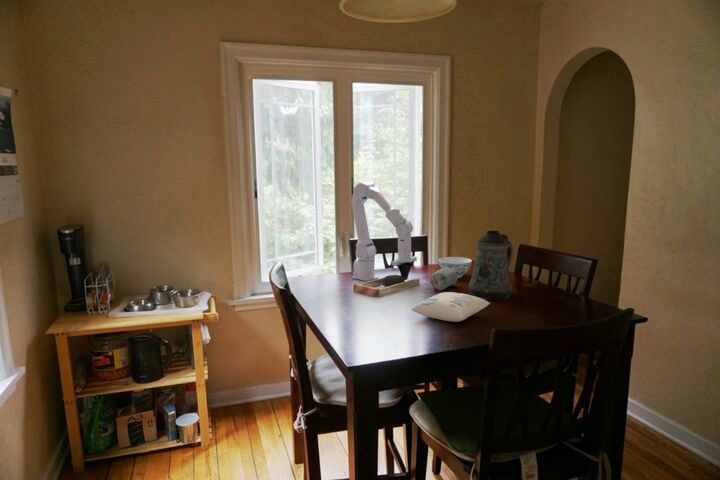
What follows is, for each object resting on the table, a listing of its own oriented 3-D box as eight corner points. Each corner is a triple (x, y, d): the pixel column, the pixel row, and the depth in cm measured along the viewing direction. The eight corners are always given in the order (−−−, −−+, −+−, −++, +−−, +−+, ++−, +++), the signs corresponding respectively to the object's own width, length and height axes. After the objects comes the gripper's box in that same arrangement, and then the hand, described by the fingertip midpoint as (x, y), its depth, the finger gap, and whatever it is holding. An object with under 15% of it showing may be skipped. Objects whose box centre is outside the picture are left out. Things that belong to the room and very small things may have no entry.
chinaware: (472, 280, 201) (472, 263, 200) (437, 279, 204) (438, 263, 203) (470, 273, 216) (471, 257, 215) (438, 272, 219) (439, 256, 218)
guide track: (353, 291, 188) (353, 284, 188) (396, 279, 207) (396, 272, 206) (376, 297, 179) (376, 289, 178) (419, 284, 197) (419, 277, 197)
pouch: (441, 284, 165) (411, 294, 150) (491, 294, 153) (463, 306, 138) (440, 305, 167) (410, 318, 151) (489, 317, 155) (462, 331, 139)
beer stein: (463, 297, 176) (464, 233, 172) (475, 285, 193) (477, 227, 189) (507, 302, 168) (509, 235, 164) (516, 289, 185) (518, 229, 181)
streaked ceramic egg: (447, 286, 180) (440, 262, 184) (428, 293, 186) (422, 270, 190) (465, 287, 190) (459, 265, 194) (447, 294, 196) (441, 272, 199)
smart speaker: (403, 283, 200) (403, 274, 200) (406, 288, 192) (405, 279, 191) (383, 283, 200) (383, 274, 199) (385, 288, 191) (384, 279, 191)
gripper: (400, 252, 190) (400, 283, 193) (422, 247, 200) (422, 277, 203) (388, 250, 195) (388, 281, 198) (409, 246, 205) (409, 275, 208)
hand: (404, 279), depth 200 cm, fingers closed
